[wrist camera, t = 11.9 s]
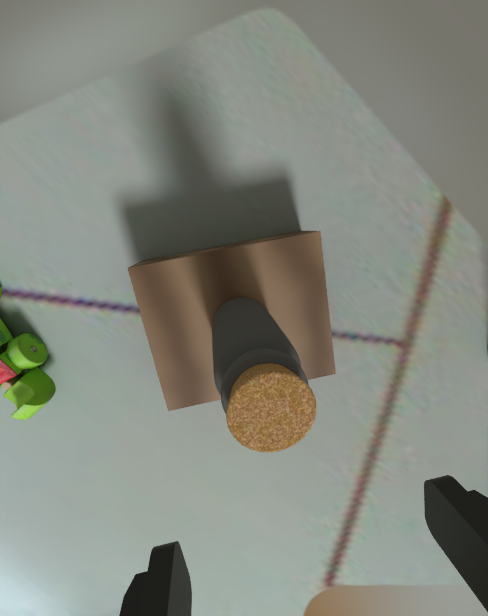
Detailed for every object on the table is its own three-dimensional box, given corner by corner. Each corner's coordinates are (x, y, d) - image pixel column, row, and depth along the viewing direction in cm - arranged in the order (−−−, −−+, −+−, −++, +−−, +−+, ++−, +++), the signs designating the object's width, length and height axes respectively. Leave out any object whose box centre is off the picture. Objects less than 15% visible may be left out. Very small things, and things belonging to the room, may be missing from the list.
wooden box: (301, 230, 34) (320, 231, 29) (316, 351, 38) (335, 373, 33) (141, 261, 33) (127, 268, 27) (174, 382, 37) (168, 411, 31)
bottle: (206, 302, 29) (204, 374, 15) (266, 291, 29) (323, 351, 15) (217, 358, 31) (225, 473, 16) (274, 347, 31) (332, 449, 17)
